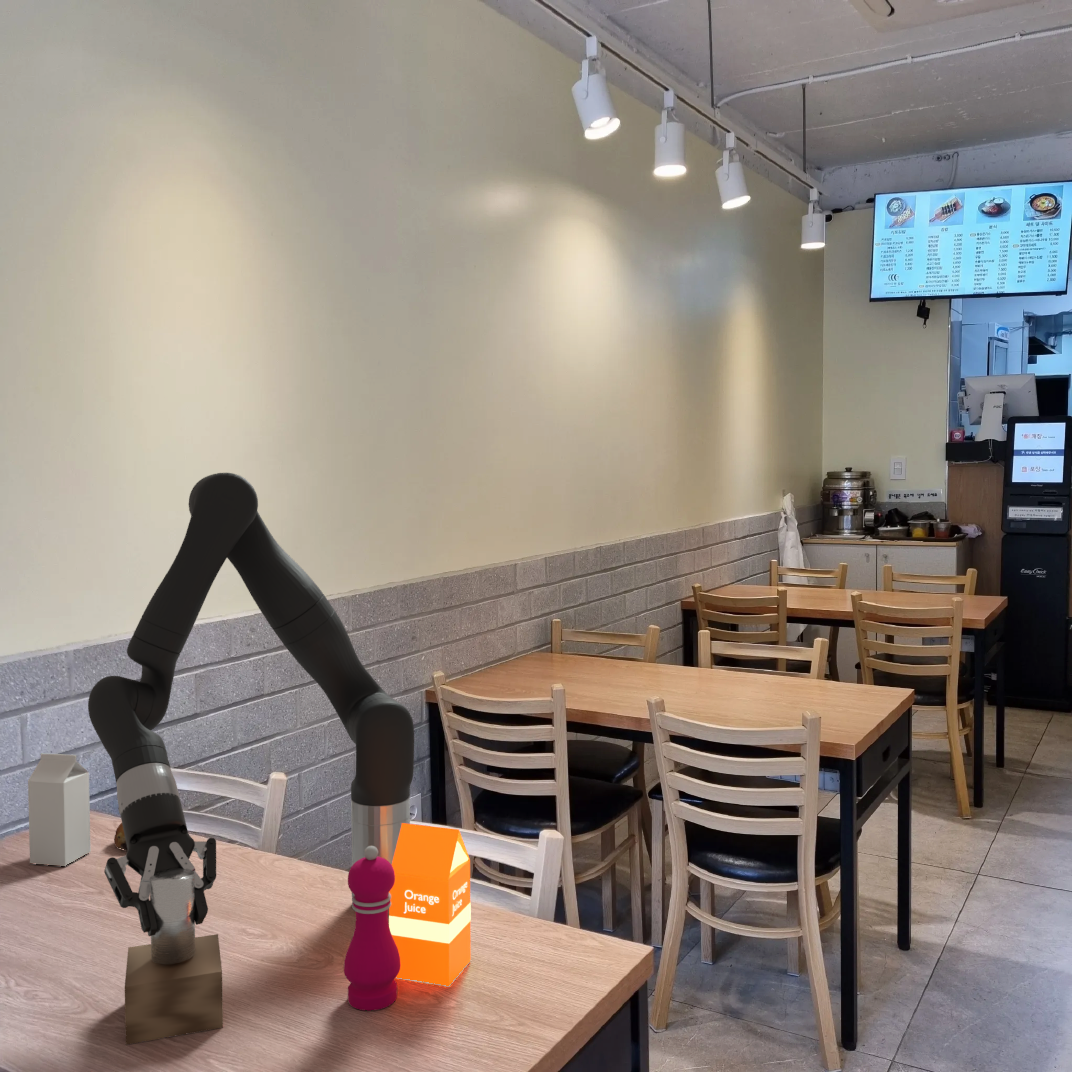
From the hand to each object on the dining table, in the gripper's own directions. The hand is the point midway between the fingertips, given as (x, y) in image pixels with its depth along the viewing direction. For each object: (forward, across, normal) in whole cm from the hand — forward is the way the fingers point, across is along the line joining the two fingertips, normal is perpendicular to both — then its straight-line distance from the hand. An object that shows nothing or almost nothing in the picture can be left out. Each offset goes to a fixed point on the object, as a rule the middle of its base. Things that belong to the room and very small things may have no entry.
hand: (177, 926), depth 123 cm
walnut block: (+7, 0, +10) cm, 12 cm away
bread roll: (-40, +12, +57) cm, 71 cm away
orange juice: (+13, +32, +4) cm, 35 cm away
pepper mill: (+15, +22, +2) cm, 27 cm away
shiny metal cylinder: (+2, 0, +4) cm, 5 cm away
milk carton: (-40, -2, +57) cm, 70 cm away
